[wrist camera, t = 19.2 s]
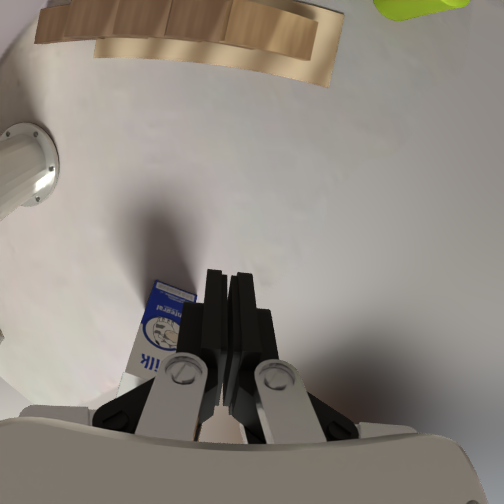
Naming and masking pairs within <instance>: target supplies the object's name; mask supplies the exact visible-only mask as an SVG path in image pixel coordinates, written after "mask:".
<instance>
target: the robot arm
mask: <svg viewBox="0 0 504 504" xmlns="http://www.w3.org/2000/svg"><path fill="white" fill-rule="evenodd" d="M58 174H59V162H58V155H57V152H56V148H55V146H54V144H53V142H52V140H51V138H50V137H49V135H48V134H47V133H46V132H45V131H44V130H43V129H42V128H40V127H39V126H37V125H35V124H32V123H26V122H24V123H19V124H16V125H13V126H11V127H9V128H8V129H7V130H6V131H5V132H3V134H2V135H1V137H0V221H1V220H3V219H4V218H5V217H6V216H8V215H9V214H10V213H11V212H13V211H14V210H15V209H17V208H18V207H19V206H24V207H32V206H36V205H38V204H40V203H42V202H43V201H44V200H46V199H47V198H48V197H49V196H50V195H51V193H52V192H53V190H54V188H55V186H56V183H57V179H58ZM222 383H223V406H229V415H232V416H233V417H234V418H235V419H236V420H237V421H239V422H240V430H241V435H242V439H243V443H244V444H225V443H208V442H199V438H200V434H201V429H202V423H203V422H204V421H206V420H207V419H209V418H210V417H211V416H213V413H214V407H215V405H216V406H218V405H219V400H220V394H221V388H222ZM0 504H488V501H487V498H486V495H485V493H484V490H483V488H482V485H481V483H480V480H479V478H478V476H477V473H476V471H475V469H474V467H473V465H472V463H471V461H470V459H469V457H468V456H467V454H466V453H465V451H464V450H463V448H462V447H461V446H460V445H459V444H458V443H457V442H455V441H454V440H451V439H449V438H447V437H443V436H439V435H434V434H427V433H418V432H417V431H416V430H414V429H413V428H411V427H408V426H400V425H386V424H374V423H365V422H360V423H359V424H358V425H357V424H354V423H353V422H352V421H351V420H349V419H348V418H346V417H345V416H343V415H342V414H340V413H339V412H337V411H336V410H334V409H333V408H331V407H330V406H328V405H327V404H325V403H324V402H322V401H320V400H319V399H318V398H316V397H315V396H313V395H312V394H310V393H309V392H307V391H306V389H305V387H304V384H303V382H302V380H301V377H300V375H299V373H298V371H297V369H296V368H295V367H293V366H292V365H291V364H289V363H287V362H285V361H282V360H279V356H278V351H277V345H276V339H275V333H274V328H273V321H272V316H271V311H270V310H269V309H258V308H256V300H255V291H254V283H253V275H252V274H251V273H241V272H238V273H237V276H233V275H232V276H231V281H230V287H229V294H228V300H227V275H223V274H222V270H212V269H207V278H206V288H205V298H204V303H195V302H186V301H184V302H183V308H182V314H181V320H180V327H179V333H178V340H177V347H176V353H174V354H171V355H169V356H167V357H166V358H165V359H163V361H162V363H161V364H160V366H159V369H158V372H157V374H156V376H155V377H154V378H152V379H150V380H148V381H146V382H145V383H143V384H141V385H139V386H137V387H136V388H134V389H132V390H130V391H128V392H127V393H125V394H123V395H121V396H119V397H117V398H115V399H114V400H112V401H110V402H108V403H106V404H104V405H102V406H101V407H100V408H99V409H97V410H89V409H88V407H70V406H47V405H30V406H28V407H26V408H24V409H23V410H22V412H21V413H20V415H19V417H17V418H9V419H5V420H2V421H0Z"/></svg>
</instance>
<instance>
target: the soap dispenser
mask: <svg viewBox="0 0 504 504" xmlns="http://www.w3.org/2000/svg"><path fill="white" fill-rule="evenodd" d="M373 1H374V4H375V6H376V8H377V9H378V11H379V12H380V13H381V14H382V15H384V16H385V17H387V18H388V19H391V20H394V21H404V20H408V19H411V18H415V17H419V16H423V15H427V14H432V13H436V12H441V11H445V10H450V9H455V8H461V7H464V6H466V5H467V4H468V3H469V2H470V0H373Z"/></svg>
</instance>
